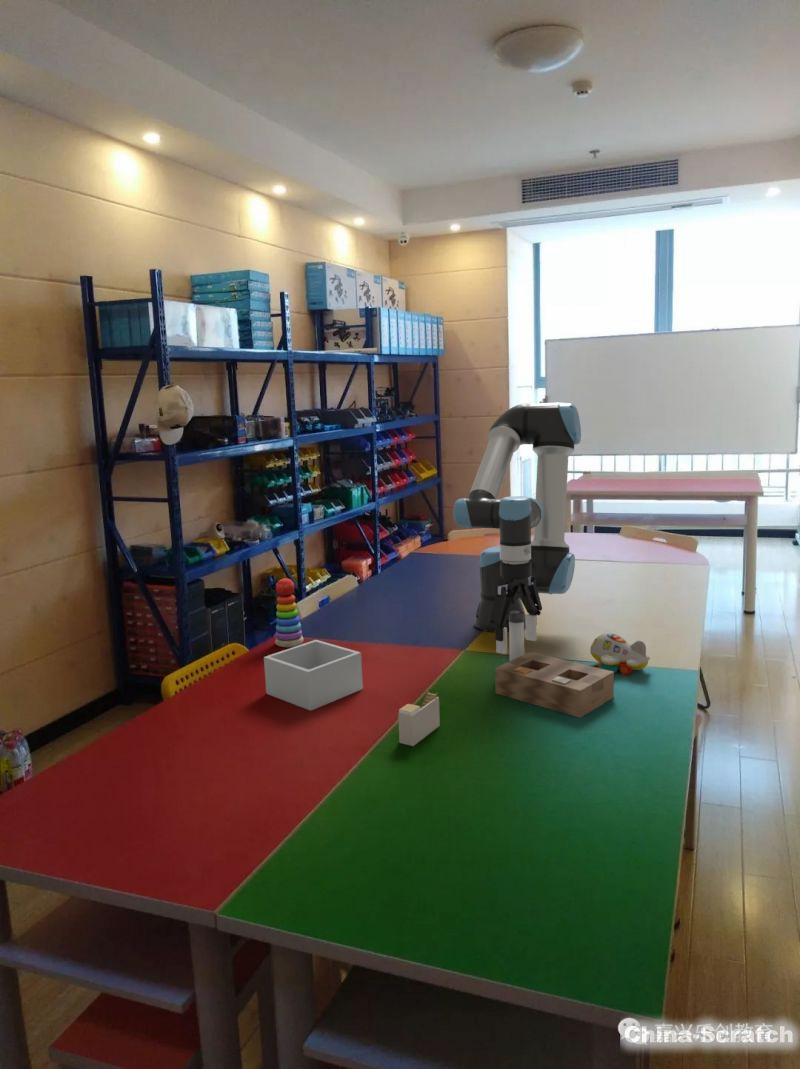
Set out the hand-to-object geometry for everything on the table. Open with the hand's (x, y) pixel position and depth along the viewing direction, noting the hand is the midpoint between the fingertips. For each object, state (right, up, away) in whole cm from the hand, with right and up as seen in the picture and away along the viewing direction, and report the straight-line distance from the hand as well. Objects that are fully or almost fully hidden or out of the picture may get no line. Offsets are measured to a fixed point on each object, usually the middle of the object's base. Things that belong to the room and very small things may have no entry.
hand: (516, 646), depth 195 cm
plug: (0, -5, +1) cm, 5 cm away
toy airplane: (+24, -5, -2) cm, 25 cm away
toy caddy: (-49, -9, -10) cm, 51 cm away
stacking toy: (-60, -3, +26) cm, 65 cm away
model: (-25, -14, -35) cm, 45 cm away
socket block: (+6, -9, -18) cm, 20 cm away
